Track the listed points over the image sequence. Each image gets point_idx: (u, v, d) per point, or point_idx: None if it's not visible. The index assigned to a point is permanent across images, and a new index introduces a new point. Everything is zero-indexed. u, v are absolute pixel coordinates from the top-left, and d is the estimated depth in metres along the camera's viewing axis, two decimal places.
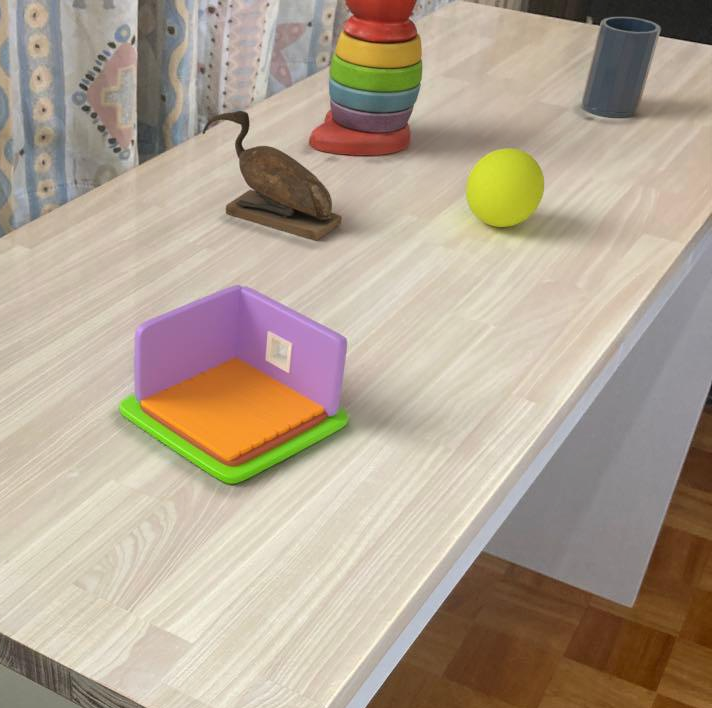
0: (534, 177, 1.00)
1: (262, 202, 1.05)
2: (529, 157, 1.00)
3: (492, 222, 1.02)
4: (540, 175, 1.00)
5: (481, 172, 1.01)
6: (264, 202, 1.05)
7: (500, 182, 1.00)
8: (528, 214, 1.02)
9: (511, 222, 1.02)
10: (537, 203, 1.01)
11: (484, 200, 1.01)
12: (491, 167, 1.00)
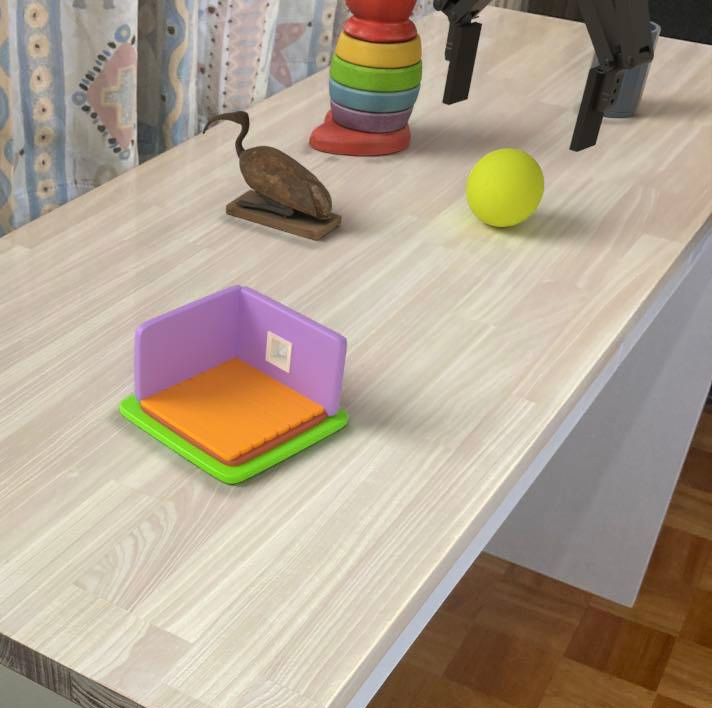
0: (534, 177, 1.00)
1: (262, 202, 1.05)
2: (529, 157, 1.00)
3: (492, 222, 1.02)
4: (540, 175, 1.00)
5: (481, 172, 1.01)
6: (264, 202, 1.05)
7: (500, 182, 1.00)
8: (528, 214, 1.02)
9: (511, 222, 1.02)
10: (537, 203, 1.01)
11: (484, 200, 1.01)
12: (491, 167, 1.00)
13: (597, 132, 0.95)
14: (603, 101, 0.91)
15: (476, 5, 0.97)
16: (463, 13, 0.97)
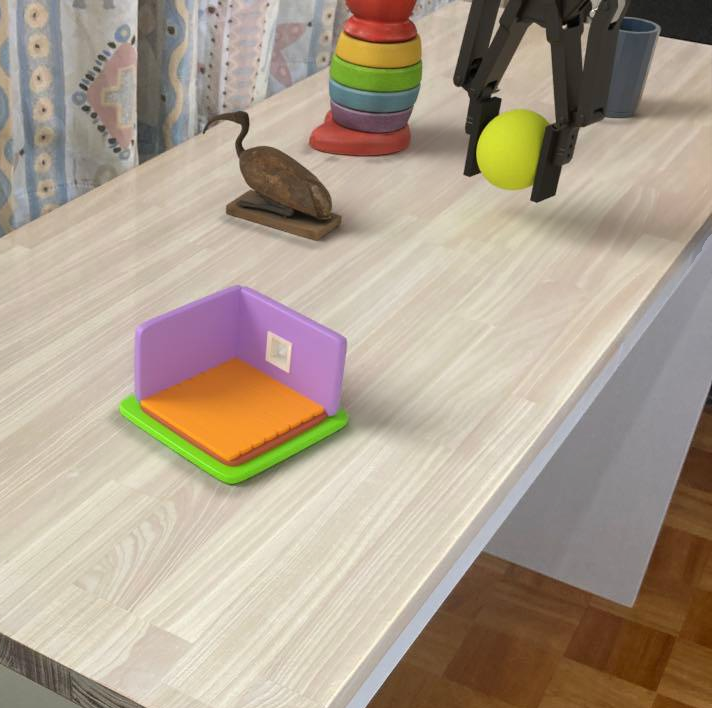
0: None
1: (262, 202, 1.05)
2: (541, 117, 0.98)
3: (504, 185, 1.00)
4: None
5: (491, 133, 0.98)
6: (264, 202, 1.05)
7: (511, 142, 0.97)
8: None
9: (523, 185, 1.00)
10: None
11: (495, 162, 0.99)
12: (501, 128, 0.98)
13: (556, 183, 1.00)
14: (560, 156, 0.96)
15: (492, 74, 0.98)
16: (482, 85, 0.99)
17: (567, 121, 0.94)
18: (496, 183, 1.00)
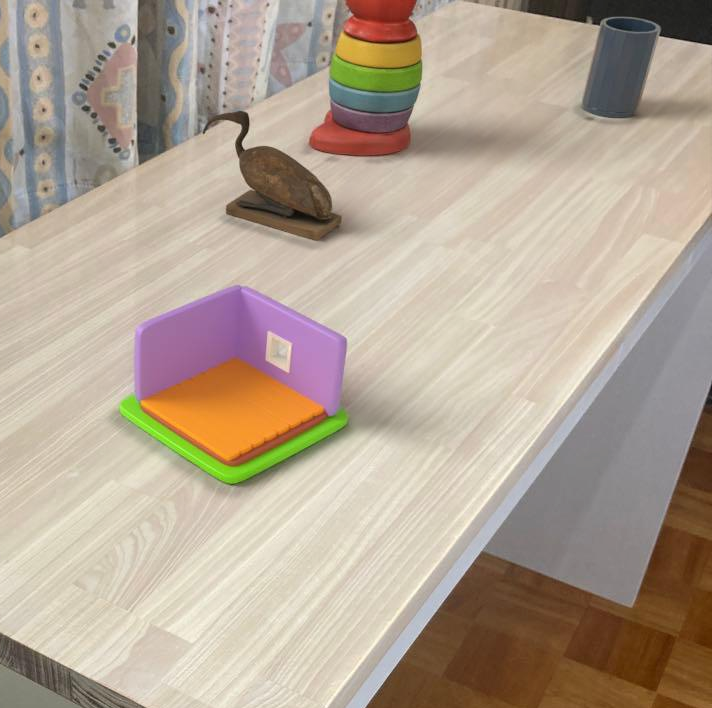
0: None
1: (262, 202, 1.05)
2: None
3: None
4: None
5: None
6: (264, 202, 1.05)
7: None
8: None
9: None
10: None
11: None
12: None
13: None
14: None
15: None
16: None
17: None
18: None
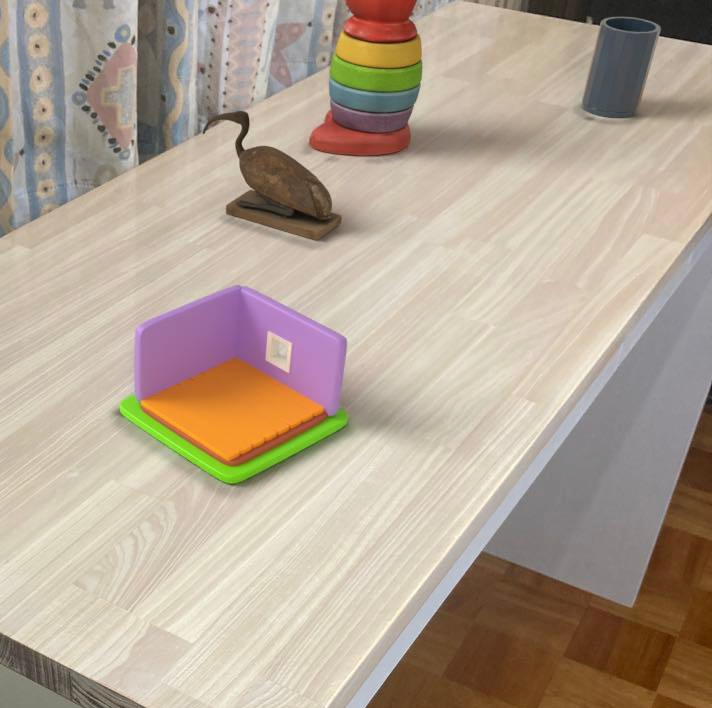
0: None
1: (262, 202, 1.05)
2: None
3: None
4: None
5: None
6: (264, 202, 1.05)
7: None
8: None
9: None
10: None
11: None
12: None
13: None
14: None
15: None
16: None
17: None
18: None
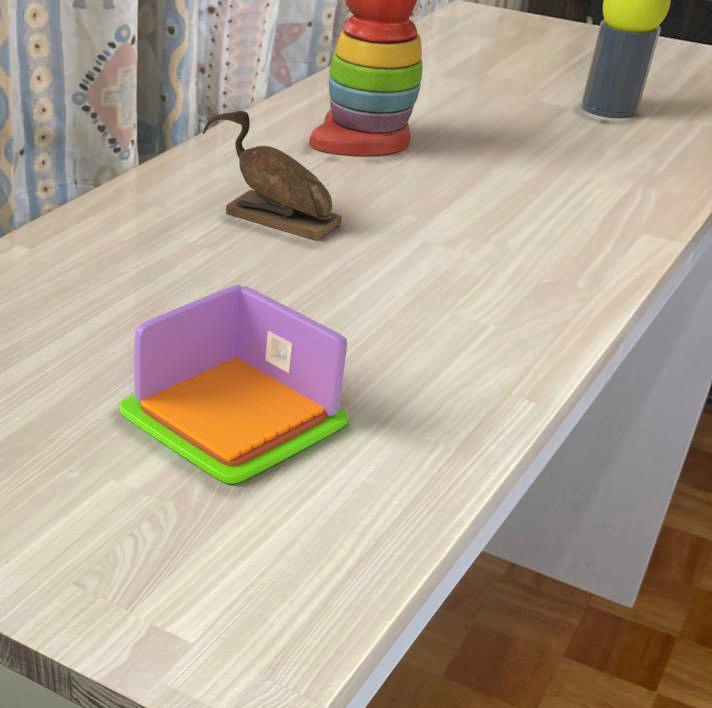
0: None
1: (262, 202, 1.05)
2: None
3: None
4: None
5: None
6: (264, 202, 1.05)
7: None
8: (657, 23, 1.21)
9: (642, 31, 1.22)
10: (665, 14, 1.21)
11: (621, 11, 1.21)
12: None
13: (701, 20, 1.19)
14: None
15: None
16: None
17: None
18: None
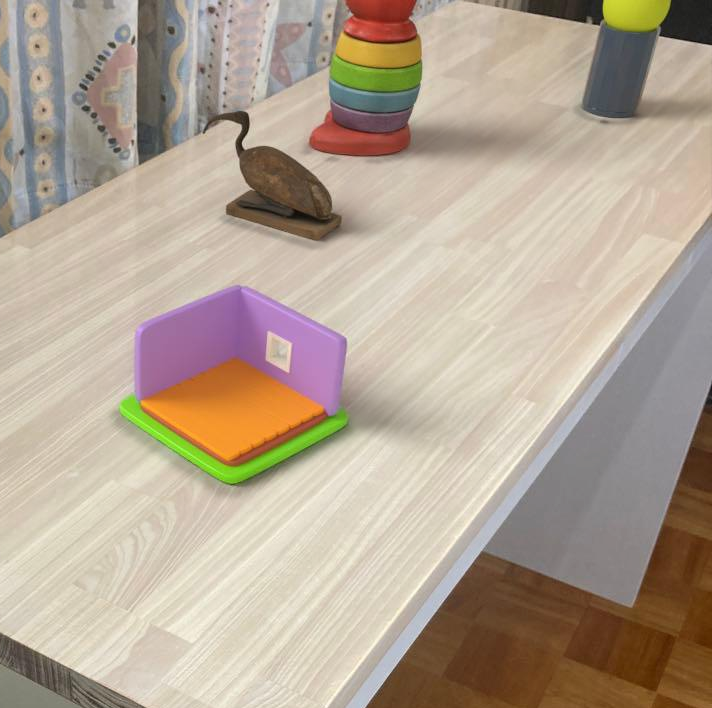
0: None
1: (262, 202, 1.05)
2: None
3: None
4: None
5: None
6: (264, 202, 1.05)
7: None
8: (657, 23, 1.21)
9: (642, 31, 1.22)
10: (665, 14, 1.21)
11: (621, 11, 1.21)
12: None
13: None
14: None
15: None
16: None
17: None
18: None
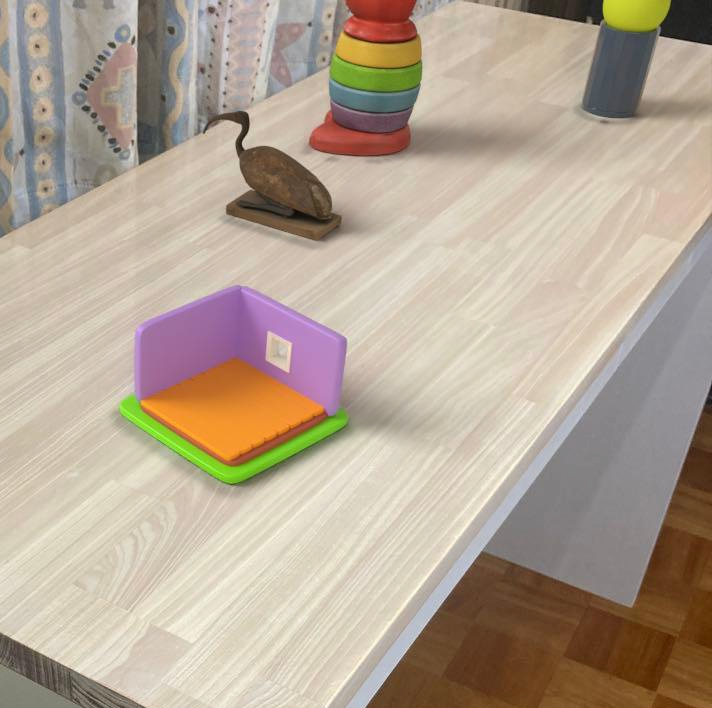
0: None
1: (262, 202, 1.05)
2: None
3: None
4: None
5: None
6: (264, 202, 1.05)
7: None
8: (657, 23, 1.21)
9: (642, 31, 1.22)
10: (665, 14, 1.21)
11: (621, 11, 1.21)
12: None
13: None
14: None
15: None
16: None
17: None
18: None
